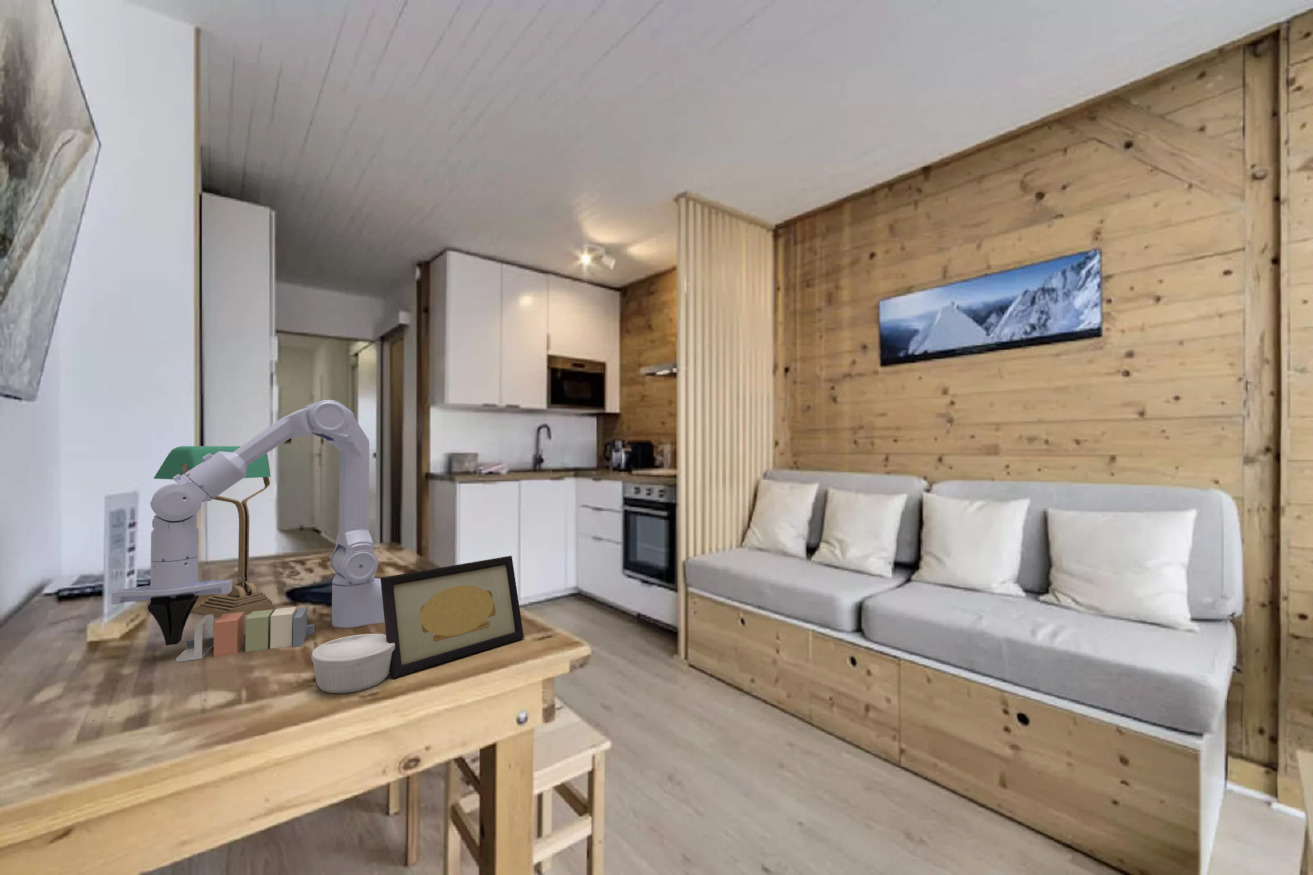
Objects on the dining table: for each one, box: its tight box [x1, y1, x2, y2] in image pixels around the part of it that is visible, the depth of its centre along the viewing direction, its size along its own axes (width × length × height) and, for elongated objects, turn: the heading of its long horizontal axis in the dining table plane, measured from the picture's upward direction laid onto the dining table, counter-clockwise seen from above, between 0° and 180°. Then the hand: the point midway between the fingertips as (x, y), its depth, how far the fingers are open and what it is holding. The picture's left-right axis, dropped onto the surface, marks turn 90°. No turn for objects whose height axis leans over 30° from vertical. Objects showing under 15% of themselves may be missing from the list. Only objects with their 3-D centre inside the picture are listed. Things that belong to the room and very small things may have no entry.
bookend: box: [175, 614, 214, 663], centre depth 87 cm, size 3×6×6 cm, turn 26°
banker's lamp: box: [153, 445, 273, 619], centre depth 116 cm, size 16×21×35 cm
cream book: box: [269, 606, 298, 650], centre depth 93 cm, size 3×4×6 cm
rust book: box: [213, 612, 246, 657], centre depth 89 cm, size 3×5×6 cm, turn 26°
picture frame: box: [379, 555, 525, 679], centre depth 93 cm, size 23×9×15 cm, turn 137°
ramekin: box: [310, 633, 395, 694], centre depth 81 cm, size 11×11×5 cm
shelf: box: [186, 606, 315, 648], centre depth 90 cm, size 18×8×6 cm, turn 116°
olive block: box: [244, 608, 274, 653], centre depth 91 cm, size 3×4×6 cm
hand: (173, 642), depth 86 cm, fingers closed
